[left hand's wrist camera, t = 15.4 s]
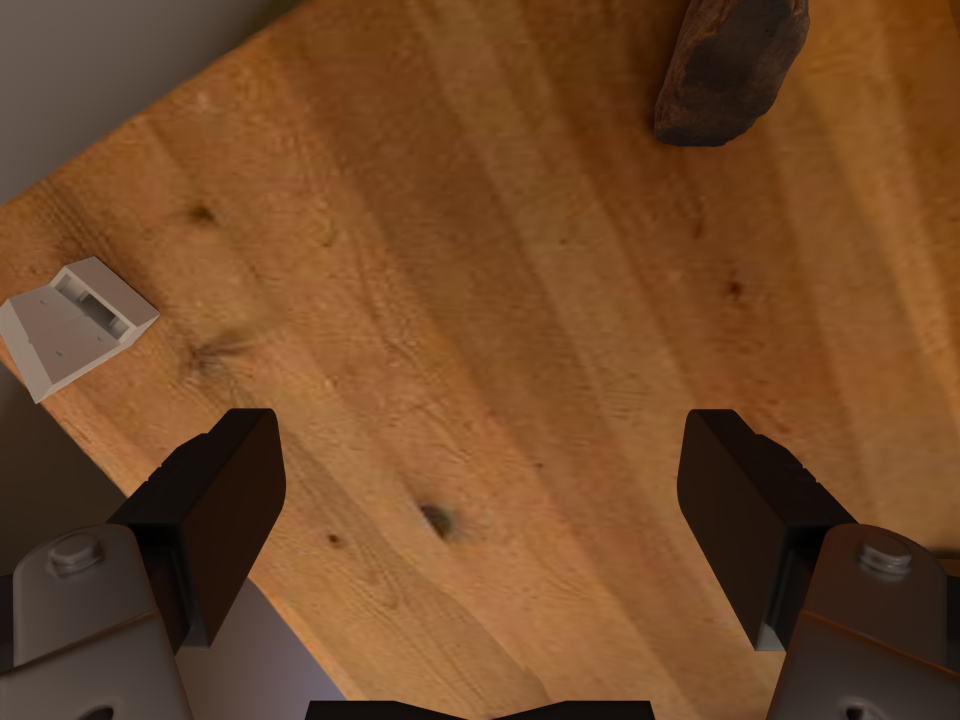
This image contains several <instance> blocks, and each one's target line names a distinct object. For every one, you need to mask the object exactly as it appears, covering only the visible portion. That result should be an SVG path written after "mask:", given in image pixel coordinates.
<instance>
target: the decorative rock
mask: <svg viewBox="0 0 960 720" xmlns="http://www.w3.org/2000/svg"><path fill="white" fill-rule="evenodd" d="M809 23H810V18H809V14H808V0H691V2H690V4H689V7H688V9H687V12H686V15H685V18H684V21H683V24H682V27H681V30H680V33H679V35H678V39H677V43H676V47H675V50H674V53H673V56H672V59H671V62H670V64H669V67H668V70H667V73H666V77H665V81H664V84H663V86H662V89H661V91H660V93H659V96H658V100H657V102H656V106H655V113H654V114H655V124H654V135H655V138H656V139H657V140H659V141H661V142H663V143H664V144H671V145H676V146H710V147H717V146H722V145H724V144H725V143H726V142H728V141H730V140H733V139H735V138H736V137H737V136H739V135H741V134H743V133H745V132H746V130H747V129H749V128H750V127H751V126H752V125H753V124H754V122H755V120H756V119H757V118H758V117H760V116H762V115H763V114H765V113H766V112H767V111H768V110H769V109H770V108H771V106H772V105H773V103H774V101H775V99H776V97H777V93H778V91H779V89H780V87H781V85H782V82H783V80H784V77H785V75H786V72H787V71H788V69H789V67H790V66H791V64H792V63H793V61H794V59H795V58H796V56H797V55H798V54H799V52H800V51H801V49H802V47H803V45H804V43H805V40H806V36H807V33H808V29H809Z"/></svg>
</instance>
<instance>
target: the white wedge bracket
mask: <svg viewBox="0 0 960 720" xmlns="http://www.w3.org/2000/svg"><path fill="white" fill-rule="evenodd" d="M160 314H161V313H160V312H158V311H157V310H156V309H155V308H154V307H153V306H151V305H150V304H149V303H148V302H147V301H146V300H145V299H143V298H142V297H141V296H140V295H139V294H138V293H137V292H135V291H134V290H133V289H132V288H131V287H130V286H128V285H127V284H126V283H125V282H124V281H123V280H122V279H120V278H119V277H118V276H117V275H116V274H115V273H114V272H112V271H111V270H110V269H109V268H108V267H107V266H105V265H104V264H103V263H102V262H101V261H100V260H99V259H97V258H96V257H95V256H93V257H90V258H87V259H84V260H81V261H78V262H75V263H72V264H69V265H65V266H64V267H63V268H62V269H61V271H60V272H59V273H58V274H57V275H56V276H55V278H54V279H53V280H52V281H51V282H50V283H49V284H47V285H45V286H42V287H39V288H36V289H33V290H31V291H28V292H25V293H22V294H19V295H16V296H14V297H11V298H8V299H7V300H6V302H5V303H4V304H3V305H2V306H1V308H0V334H1V336H2V338H3V340H4V342H5V344H6V346H7V348H8V350H9V352H10V354H11V356H12V358H13V360H14V362H15V364H16V366H17V368H18V370H19V372H20V374H21V376H22V378H23V380H24V382H25V384H26V386H27V388H28V390H29V392H30V394H31V396H32V398H33V400H34V402H35V404H36V403H38V402H40V401H41V400H43V399H44V398H46V397H48V396H49V395H51V394H53V393H54V392H56V391H57V390H59V389H61V388H62V387H64V386H66V385H67V384H69V383H70V382H72V381H74V380H75V379H77V378H79V377H80V376H82V375H83V374H85V373H87V372H88V371H90V370H92V369H93V368H95V367H96V366H98V365H100V364H101V363H103V362H105V361H106V360H108V359H109V358H111V357H113V356H114V355H116V354H118V353H119V352H121V351H122V350H124V349H126V348H127V347H129V346H131V345H132V344H133V343H134V342H135V341H136V340H137V339H138V338H139V337H140V335H141V334H142V333H143V332H144V331H145V330H146V329H147V328H148V327H149V326H150V325H151V324H152V323H153V322H154V321H155V320H156V319H157V318H158V317H159V315H160Z"/></svg>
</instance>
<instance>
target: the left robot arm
mask: <svg viewBox="0 0 960 720" xmlns="http://www.w3.org/2000/svg"><path fill="white" fill-rule="evenodd" d="M285 494H286V476H285V469H284V463H283V456H282V449H281V442H280V435H279V429H278V422H277V417H276V414H275V412H274V411H273V410H272V409H270V408H233V409H230V410H228V411H227V413H226V414H225V415H224V416H223V417H222V418H221V419H220V420H219V421H218V423H217V424H216V425H215V426H214V427H213V428H212V429H211V430H210V431H209V433H201V434H200V435H198V436H196V437H194V438H193V439H191V440H189V441H188V442H186V443H184V444H182V445H181V446H179V447H177V448H176V449H175V450H174V451H173V452H172V453H171V454H170V455H169V457H168V458H167V459H166V460H165V461H164V462H163V463H162V466H161V467H158V468H157V469H156V470H155V471H154V472H153V473H152V474H151V475H150V476H149V478H148V481H145V482H144V483H143V484H142V485H141V486H140V487H139V488H138V489H137V490H136V491H135V492H134V493H133V494H132V495H131V496H130V497H129V498H128V500H127V501H126V502H125V503H124V504H123V505H122V506H121V507H120V508H119V509H118V510H117V511H116V512H115V513H114V514H113V515H112V516H111V517H110V518H109V519H108V520H107V522H106V523H105V524H95V525H89V526H84V527H80V528H77V529H74V530H70V531H68V532H65V533H62V534H60V535H58V536H56V537H54V538H52V539H50V540H48V541H46V542H44V543H43V544H41V545H39V546H38V547H36V548H35V549H34V550H32V551H31V552H30V553H29V554H28V555H26V556H25V557H24V558H23V559H22V560H21V562H20V563H19V564H18V566H17V567H16V569H15V571H14V574H10V575H5V576H0V720H194V717H193V714H192V711H191V708H190V705H189V701H188V698H187V695H186V692H185V689H184V685H183V682H182V679H181V676H180V673H179V670H178V666H177V663H176V660H175V656H176V654H177V652H178V650H179V649H209V648H210V646H211V644H212V642H213V641H214V639H215V637H216V635H217V633H218V631H219V629H220V627H221V625H222V623H223V621H224V620H225V618H226V616H227V614H228V612H229V610H230V608H231V606H232V604H233V602H234V600H235V598H236V596H237V595H238V593H239V591H240V589H241V587H242V585H243V583H244V581H245V579H246V577H247V575H248V574H249V572H250V570H251V568H252V566H253V564H254V562H255V560H256V558H257V556H258V554H259V553H260V551H261V549H262V547H263V545H264V543H265V541H266V539H267V537H268V535H269V533H270V531H271V530H272V528H273V526H274V524H275V522H276V520H277V518H278V516H279V514H280V512H281V510H282V508H283V504H284V500H285ZM677 495H678V501H679V505H680V509H681V511H682V513H683V515H684V517H685V519H686V521H687V523H688V525H689V527H690V528H691V530H692V532H693V534H694V536H695V538H696V540H697V542H698V544H699V545H700V547H701V549H702V551H703V553H704V555H705V557H706V559H707V561H708V563H709V564H710V566H711V568H712V570H713V572H714V574H715V576H716V578H717V580H718V581H719V583H720V585H721V587H722V589H723V591H724V593H725V595H726V597H727V598H728V600H729V602H730V604H731V606H732V608H733V610H734V612H735V614H736V616H737V617H738V619H739V621H740V623H741V625H742V627H743V629H744V631H745V633H746V634H747V636H748V638H749V640H750V642H751V644H752V646H753V648H754V650H755V651H786V653H787V654H786V657H785V660H784V663H783V666H782V670H781V673H780V676H779V679H778V682H777V685H776V689H775V692H774V695H773V698H772V701H771V705H770V708H769V711H768V714H767V717H766V720H960V577H956V576H951V575H947V574H946V571H945V569H944V567H943V566H942V564H941V563H940V562H939V560H938V559H937V558H936V557H935V556H934V555H933V554H931V553H930V552H929V551H928V550H926V549H925V548H924V547H922V546H921V545H919V544H917V543H916V542H914V541H912V540H910V539H908V538H907V537H904V536H902V535H900V534H898V533H895V532H892V531H890V530H887V529H883V528H880V527H876V526H871V525H865V524H859V523H858V522H857V521H856V520H855V519H854V518H853V517H852V516H851V515H850V514H849V513H848V512H847V511H846V510H845V509H844V508H843V507H842V506H841V505H840V503H839V502H838V501H837V500H836V499H835V498H834V497H833V496H832V495H831V494H830V493H829V492H828V491H827V490H826V489H825V488H824V487H823V486H822V485H821V484H820V483H816V479H815V477H814V476H813V475H812V474H811V473H810V472H809V471H808V470H807V469H806V468H803V467H802V464H801V463H800V462H799V461H798V460H797V459H796V458H795V457H794V456H793V455H792V454H791V453H790V452H789V450H788V449H787V448H785V447H783V446H781V445H780V444H778V443H776V442H774V441H773V440H771V439H769V438H767V437H766V436H764V435H762V434H755V433H754V432H753V431H752V429H751V428H750V427H749V426H748V425H747V424H746V423H745V422H744V421H743V420H742V418H741V417H740V416H739V415H738V414H737V413H736V412H735V411H734V410H732V409H693V410H691V411H690V412H689V413H688V416H687V419H686V423H685V430H684V437H683V443H682V450H681V457H680V464H679V470H678V477H677ZM305 720H467V719H463V718H459V717H455V716H452V715H448V714H444V713H440V712H436V711H432V710H428V709H424V708H420V707H416V706H413V705H409V704H405V703H401V702H397V701H310V703H309V707H308V710H307V713H306V717H305ZM493 720H655V717H654V713H653V710H652V707H651V703H650V701H563V702H559V703H555V704H551V705H547V706H544V707H540V708H536V709H532V710H528V711H524V712H520V713H516V714H512V715H508V716H505V717H501V718H497V719H493Z"/></svg>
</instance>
